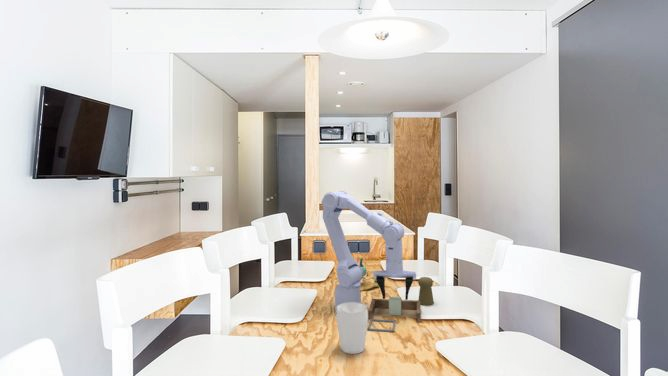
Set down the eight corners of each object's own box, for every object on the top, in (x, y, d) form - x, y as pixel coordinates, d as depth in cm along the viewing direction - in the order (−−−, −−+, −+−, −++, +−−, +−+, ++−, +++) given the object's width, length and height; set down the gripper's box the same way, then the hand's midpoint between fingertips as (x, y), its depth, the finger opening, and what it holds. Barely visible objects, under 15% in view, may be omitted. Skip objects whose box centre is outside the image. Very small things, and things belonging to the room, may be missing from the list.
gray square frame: (367, 335, 115) (367, 329, 115) (370, 324, 123) (370, 318, 123) (394, 337, 113) (394, 330, 113) (395, 326, 121) (395, 320, 121)
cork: (435, 310, 134) (434, 280, 134) (417, 309, 136) (417, 279, 135) (434, 304, 140) (433, 275, 140) (417, 304, 142) (416, 275, 141)
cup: (335, 342, 111) (334, 302, 110) (365, 340, 112) (364, 301, 111) (338, 357, 102) (337, 314, 101) (371, 355, 103) (370, 312, 102)
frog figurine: (385, 291, 158) (380, 257, 157) (343, 296, 159) (338, 262, 159) (383, 285, 168) (379, 252, 167) (344, 289, 169) (339, 257, 168)
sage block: (389, 314, 128) (388, 300, 127) (390, 310, 131) (389, 296, 131) (401, 315, 127) (400, 300, 127) (401, 311, 131) (401, 297, 130)
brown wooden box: (368, 323, 124) (368, 310, 124) (372, 310, 136) (372, 298, 136) (420, 326, 120) (420, 313, 120) (420, 313, 132) (420, 300, 132)
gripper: (371, 261, 126) (372, 301, 127) (415, 262, 123) (416, 303, 123) (374, 257, 133) (375, 294, 133) (415, 257, 130) (416, 296, 130)
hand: (395, 298), depth 129 cm, fingers open, 7 cm apart
